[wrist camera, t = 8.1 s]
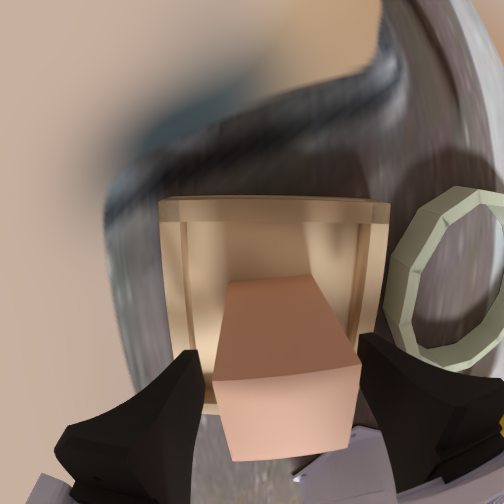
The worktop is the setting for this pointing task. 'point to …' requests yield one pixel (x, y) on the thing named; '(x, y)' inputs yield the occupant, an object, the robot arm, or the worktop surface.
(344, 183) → the worktop surface
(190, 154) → the worktop surface
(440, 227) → the ceramic ring
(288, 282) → the pink block
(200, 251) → the birch tray
